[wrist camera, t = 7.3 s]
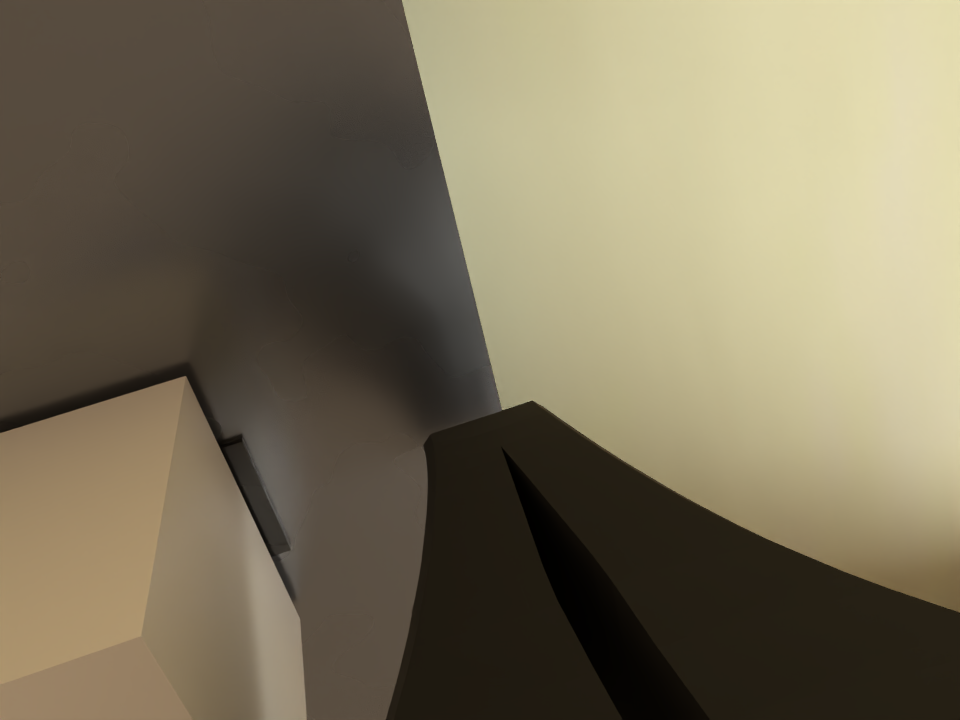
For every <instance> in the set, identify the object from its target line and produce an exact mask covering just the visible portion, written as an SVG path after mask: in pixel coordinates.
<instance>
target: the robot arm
mask: <svg viewBox="0 0 960 720" xmlns="http://www.w3.org/2000/svg"><path fill="white" fill-rule="evenodd" d="M423 447H424V451H425V455H426V462H427V476H428V491H427V514H426V523H425V533H424V542H423V551H422V560H421V567H420V574H419V579H418V585H417V590H416V595H415V600H414V606H413V611H412V616H411V621H410V627H409V632H408V637H407V641H406V645H405V649H404V654H403V658H402V662H401V666H400V670H399V674H398V678H397V681H396V685H395V689H394V693H393V696H392V700H391V703H390V706H389V710H388V713H387V717H386V720H960V613H959V612H956V611H953V610H950V609H947V608H944V607H941V606H938V605H935V604H932V603H929V602H926V601H924V600H921V599H918V598H915V597H912V596H909V595H906V594H903V593H900V592H897V591H894V590H891V589H888V588H886V587H883V586H880V585H878V584H875V583H872V582H870V581H867V580H864V579H862V578H859V577H856V576H854V575H851V574H848V573H846V572H843V571H841V570H838V569H836V568H833V567H831V566H829V565H826V564H824V563H822V562H819V561H817V560H814V559H812V558H810V557H807V556H805V555H803V554H800V553H798V552H795V551H793V550H791V549H788V548H786V547H784V546H781V545H779V544H776V543H774V542H772V541H770V540H767V539H765V538H763V537H761V536H759V535H757V534H755V533H753V532H751V531H749V530H747V529H745V528H743V527H740V526H738V525H736V524H735V523H733V522H731V521H729V520H727V519H725V518H723V517H721V516H719V515H717V514H715V513H713V512H711V511H709V510H708V509H706V508H704V507H702V506H700V505H698V504H696V503H694V502H692V501H691V500H689V499H687V498H685V497H684V496H682V495H680V494H678V493H676V492H675V491H673V490H671V489H669V488H668V487H666V486H664V485H662V484H661V483H659V482H657V481H656V480H654V479H652V478H651V477H649V476H647V475H646V474H644V473H642V472H641V471H639V470H637V469H636V468H634V467H632V466H631V465H629V464H627V463H626V462H624V461H622V460H621V459H619V458H618V457H616V456H615V455H613V454H611V453H610V452H608V451H607V450H605V449H604V448H602V447H601V446H599V445H598V444H596V443H595V442H593V441H592V440H590V439H589V438H587V437H586V436H584V435H583V434H581V433H580V432H578V431H577V430H575V429H574V428H572V427H571V426H570V425H568V424H567V423H565V422H564V421H562V420H561V419H560V418H558V417H557V416H555V415H554V414H553V413H551V412H550V411H548V410H547V409H546V408H544V407H543V406H541V405H539V404H537V403H535V402H533V401H530V402H527V403H524V404H521V405H518V406H515V407H512V408H509V409H506V410H502V411H499V412H496V413H493V414H490V415H487V416H484V417H481V418H478V419H475V420H472V421H469V422H466V423H463V424H460V425H457V426H454V427H450V428H447V429H444V430H441V431H438V432H435V433H432V434H430V435H429V437H428V439H427V440H426V442H425V443H424V445H423Z"/></svg>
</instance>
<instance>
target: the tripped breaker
mask: <svg viewBox="0 0 960 720" xmlns="http://www.w3.org/2000/svg"><path fill="white" fill-rule="evenodd" d="M0 720H307V715H306V700H305V684H304V669H303V654H302V639H301V623H300V618H299V616H298V613H297V611H296V609H295V607H294V605H293V603H292V601H291V598H290V596H289V594H288V592H287V590H286V588H285V586H284V584H283V581H282V579H281V577H280V575H279V573H278V571H277V569H276V567H275V564H274V562H273V560H272V558H271V556H270V554H269V552H268V550H267V547H266V545H265V543H264V541H263V539H262V537H261V535H260V532H259V530H258V528H257V526H256V524H255V522H254V520H253V518H252V515H251V513H250V511H249V509H248V507H247V505H246V503H245V501H244V498H243V496H242V494H241V492H240V490H239V488H238V486H237V484H236V481H235V479H234V477H233V475H232V473H231V471H230V469H229V466H228V464H227V462H226V460H225V458H224V456H223V454H222V452H221V449H220V447H219V445H218V443H217V441H216V439H215V437H214V435H213V432H212V430H211V428H210V426H209V424H208V422H207V420H206V418H205V415H204V413H203V411H202V409H201V407H200V405H199V403H198V400H197V398H196V396H195V394H194V392H193V390H192V388H191V386H190V383H189V381H188V379H187V377H186V376H184V377H180V378H177V379H174V380H171V381H167V382H164V383H161V384H158V385H154V386H151V387H148V388H145V389H142V390H138V391H135V392H132V393H129V394H125V395H122V396H119V397H116V398H112V399H109V400H106V401H103V402H99V403H96V404H93V405H90V406H87V407H83V408H80V409H77V410H74V411H70V412H67V413H64V414H61V415H57V416H54V417H51V418H48V419H45V420H41V421H38V422H35V423H32V424H28V425H25V426H22V427H19V428H15V429H12V430H9V431H6V432H2V433H0Z"/></svg>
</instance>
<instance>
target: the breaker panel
mask: <svg viewBox="0 0 960 720" xmlns="http://www.w3.org/2000/svg"><path fill="white" fill-rule="evenodd" d="M184 376H186V377H187V379H188V381H189V383H190V386H191V388H192V390H193V392H194V394H195V396H196V398H197V400H198V403H199V405H200V407H201V409H202V411H203V413H204V415H205V418H206V420H207V422H208V424H209V426H210V428H211V430H212V432H213V435H214V437H215V439H216V441H217V443H218V445H219V447H220V449H221V452H222V454H223V456H224V458H225V460H226V462H227V464H228V466H229V469H230V471H231V473H232V475H233V477H234V479H235V481H236V484H237V486H238V488H239V490H240V492H241V494H242V496H243V498H244V501H245V503H246V505H247V507H248V509H249V511H250V513H251V515H252V518H253V520H254V522H255V524H256V526H257V528H258V530H259V532H260V535H261V537H262V539H263V541H264V543H265V545H266V547H267V550H268V552H269V554H270V556H271V558H272V560H273V562H274V564H275V567H276V569H277V571H278V573H279V575H280V577H281V579H282V581H283V584H284V586H285V588H286V590H287V592H288V594H289V596H290V598H291V601H292V603H293V605H294V607H295V609H296V611H297V613H298V616H299V618H300V623H301V639H302V654H303V669H304V684H305V700H306V715H307V720H386V717H387V713H388V710H389V706H390V703H391V700H392V696H393V693H394V689H395V685H396V681H397V678H398V674H399V670H400V666H401V662H402V658H403V654H404V649H405V645H406V641H407V637H408V632H409V627H410V621H411V616H412V611H413V606H414V600H415V595H416V590H417V585H418V579H419V574H420V567H421V560H422V551H423V542H424V533H425V523H426V514H427V491H428V476H427V462H426V455H425V451H424V447H423V445H424V443H425V442H426V440H427V439H428V437H429V435H430V434H432V433H435V432H438V431H441V430H444V429H447V428H450V427H454V426H457V425H460V424H463V423H466V422H469V421H472V420H475V419H478V418H481V417H484V416H487V415H490V414H493V413H496V412H499V411H502V409H501V404H500V400H499V396H498V392H497V388H496V384H495V380H494V376H493V372H492V368H491V364H490V360H489V355H488V351H487V347H486V343H485V339H484V335H483V331H482V327H481V323H480V319H479V315H478V311H477V307H476V302H475V298H474V294H473V290H472V286H471V282H470V278H469V274H468V270H467V266H466V262H465V258H464V253H463V249H462V245H461V241H460V237H459V233H458V229H457V225H456V221H455V217H454V213H453V209H452V204H451V200H450V196H449V192H448V188H447V184H446V180H445V176H444V172H443V168H442V164H441V160H440V156H439V151H438V147H437V143H436V139H435V135H434V131H433V127H432V123H431V119H430V115H429V111H428V107H427V102H426V98H425V94H424V90H423V86H422V82H421V78H420V74H419V70H418V66H417V62H416V58H415V54H414V49H413V45H412V41H411V37H410V33H409V29H408V25H407V21H406V17H405V13H404V9H403V5H402V0H0V433H2V432H6V431H9V430H12V429H15V428H19V427H22V426H25V425H28V424H32V423H35V422H38V421H41V420H45V419H48V418H51V417H54V416H57V415H61V414H64V413H67V412H70V411H74V410H77V409H80V408H83V407H87V406H90V405H93V404H96V403H99V402H103V401H106V400H109V399H112V398H116V397H119V396H122V395H125V394H129V393H132V392H135V391H138V390H142V389H145V388H148V387H151V386H154V385H158V384H161V383H164V382H167V381H171V380H174V379H177V378H180V377H184Z"/></svg>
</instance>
